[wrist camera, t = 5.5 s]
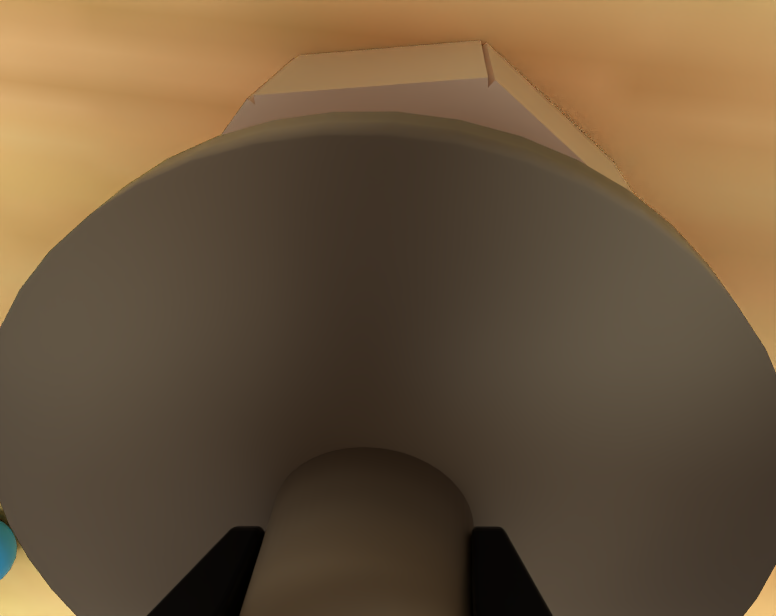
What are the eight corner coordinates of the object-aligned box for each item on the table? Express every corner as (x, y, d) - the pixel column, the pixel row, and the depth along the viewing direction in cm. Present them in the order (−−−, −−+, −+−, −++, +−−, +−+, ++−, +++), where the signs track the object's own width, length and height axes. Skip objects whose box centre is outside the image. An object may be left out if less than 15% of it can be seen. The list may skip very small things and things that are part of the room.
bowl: (624, 28, 15) (676, 62, 11) (598, 410, 20) (629, 517, 16) (169, 65, 16) (88, 107, 12) (250, 417, 21) (209, 518, 17)
